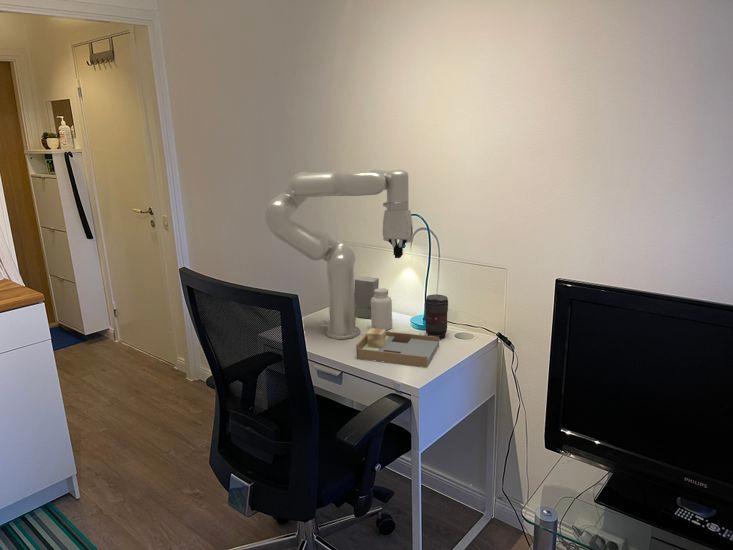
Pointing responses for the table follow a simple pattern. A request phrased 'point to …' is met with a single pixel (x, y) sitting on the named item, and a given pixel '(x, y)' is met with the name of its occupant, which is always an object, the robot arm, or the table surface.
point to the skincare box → (364, 295)
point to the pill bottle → (381, 309)
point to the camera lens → (436, 315)
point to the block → (376, 338)
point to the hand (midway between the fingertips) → (398, 257)
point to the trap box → (400, 349)
